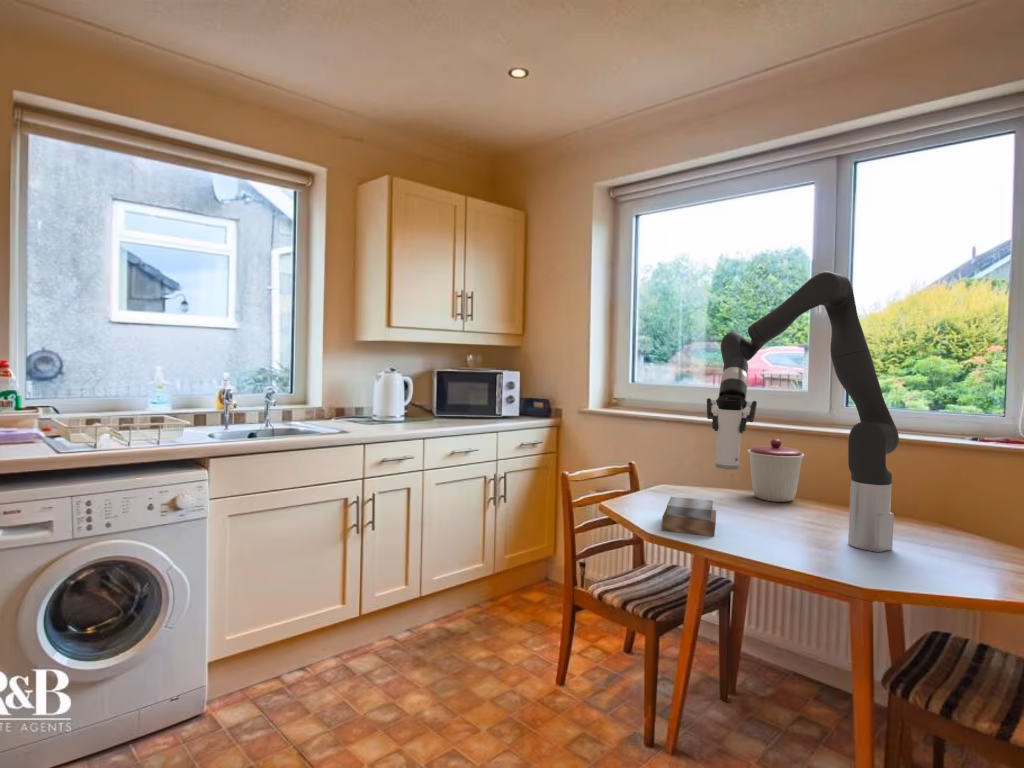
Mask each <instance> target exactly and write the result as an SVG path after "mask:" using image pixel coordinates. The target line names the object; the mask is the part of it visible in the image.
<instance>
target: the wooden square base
mask: <svg viewBox="0 0 1024 768" xmlns="http://www.w3.org/2000/svg"><path fill="white" fill-rule="evenodd" d="M713 505H714V500H712V499H711V500H710V499H702V498H690V497H689V498H688V497H680V496H670V498H669V500H668V502H667V504H666V508H665V510H664V512H663V514H662V521H661V523H662V524H661V527H662V528H661V531H662V532H663V531H664V532H670V533H678V534H690V535H698V536H707V537H715V534H716V533H715V532H716V524H717V509H714V508H713V507H714V506H713Z"/></svg>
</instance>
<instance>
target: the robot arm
mask: <svg viewBox="0 0 1024 768" xmlns="http://www.w3.org/2000/svg"><path fill="white" fill-rule="evenodd" d="M853 288H854V287H853V285H852V283H851V281H850V279H849V278H848V277H847V276H846V275H844V274H842V273H837V272H833V271H827V270H826V271H820V272H818V273H815V274H814V275H813V276H812V277H811V278H809V279H808V280H807V281H806V282H805V283H804V284H803V285H802V286H801V287H799V289H798V290H797V291H795V292H794V293H792V294H791V296H789V297H788V298H786V300H785V301H783V302H782V303H781V304H779V305H778V306H777V307H776V308H774V309H773V310H771V311H770V312H768V313H767V314H766V315H764V316H762V317H761V318H758V320H757V321H754V322H753V323H752V324H751V325H749V326H748V328H747V334H748V336H749V338H750V339H751V340H749V339H748V338H746V337H745V336H744V335H743V334H741V333H739V332H737V331H729V332H727V333H726V334H725V335H724V336H723V338H722V339H721V342H720V353H721V358H722V362H723V368H722V375H721V379H720V382H719V383H720V384H719V392H718V397H717V399H711V398H710V397H707V399H706V418H707V420H712V421H711V422H712V424H711V428H712V430H714V432H717V425H718V411H719V410H718V408H719V400H721V399H728V398H738V397H741V398H743V400H742V406H741V408H742V411H741V413H742V414H741V423H740V433H741V434H744V432H746V429H747V423H753V422H754V420H755V416H756V412H757V409H758V407H757V406H758V405H757V404H758V403H757V401H756V400H753V401H752V402H750V401H748V400H747V390H748V383H749V382H748V372H749V371H748V370H749V363H748V362H749V361H751V360H752V358H754V356H755V355H756V354H757V353H758V352H759V351H760V350H761V349H762V348H763V347H764V346H765V345H766V343H768V342H770V341H772V340H773V339H774V338H777V337H778V336H779V335H781V334H783V333H784V332H785V331H786V330H787V329H789V327H790V326H791V325H793V322H795V321H796V320H797V319H798V318H799V317H801V316H802V315H803V314H804V313H806V312H808V311H810V310H813V309H814V308H816V307H819V306H823V307H824V308H825V311H826V314H827V317H828V319H829V322H830V328H831V337H830V346H829V347H830V357H831V361H832V365H833V369H834V372H835V375H836V377H837V379H838V382H839V383H840V385H841V386H842V388H843V389H844V390H845V392H846V393H847V395H848V396H849V397H850V398H851V400H852V402H853V404H854V405H855V408H856V410H857V413H858V417H859V420H860V422H858V423H856V424H855V425H853V426H852V428H851V429H850V431H849V435H848V439H847V440H848V441H847V446H848V449H847V450H848V453H847V455H848V457H847V458H848V461H847V462H848V469H849V472H850V489H849V490H850V493H849V511H848V513H849V514H848V516H849V517H848V538H847V543H848V545H850V546H851V547H854V548H857V549H861V550H865V551H869V552H870V551H871V552H874V553H875V552H876V553H882V552H886V551H891V550H893V545H894V544H893V539H894V523H895V513H893V512H892V511H891V507H892V506H891V503H892V502H891V501H892V486H893V485H892V484H893V474H892V473H891V471H889V470H888V468H887V461H886V459H887V455H889V454H891V453H892V452H894V451H895V450H896V449H897V447H898V445H899V441H900V437H899V436H900V435H899V432H898V429H897V427H896V424H895V421H894V420H893V418H892V415H891V413H890V411H889V409H888V406H887V404H886V401H885V399H884V395H883V391H882V389H881V384H880V382H879V378H878V375H877V372H876V371H877V370H876V369H875V364H874V361H873V357H872V354H871V352H870V349H869V345H868V343H867V340H866V337H865V336H866V335H865V332H864V331H863V328H862V325H861V322H860V319H859V315H858V312H857V306H856V299H855V294H854V289H853ZM715 405H716V406H717V409H716V411H714V412H712V411H713V410H712V409H713V408H714V407H715ZM746 408H748V410H749V413H748V414H746V413H745V409H746Z"/></svg>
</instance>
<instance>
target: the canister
mask: <svg viewBox="0 0 1024 768" xmlns="http://www.w3.org/2000/svg"><path fill="white" fill-rule="evenodd" d="M769 444H770V445H756V446H752V447H751V448H750V449H747V453H749V461H750V462H749V463H750V474H751V475H750V476H751V485H752V492H753V494H754V496H755V497H756V498H758V499H760V500H763V501H768V502H775V503H787V502H791V501H793V500H794V498H795V497H796V495H797V489H798V486H799V485H798V484H799V480H800V479H799V478H800V473H801V467H802V460H803V458H804V457H805V454H804V453H803V452H801V451H800V450H798V449H797V448H792V447H788V446H782V441H781V440H780V439H778V438H773V439H771V440H770V443H769Z"/></svg>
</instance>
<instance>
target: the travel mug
mask: <svg viewBox="0 0 1024 768" xmlns="http://www.w3.org/2000/svg"><path fill="white" fill-rule="evenodd" d="M742 400H743V398H741V397H738V398H728V399H721V400H719V408H718V407H717V408H718V410H719V411H718V425H717V431H716V447H715V448H716V449H715V467H716V468H717V469H723V470H731V471H733V470H738V469H739V467H740V454H741V453H740V451H741V450H740V449H741V435H742V433H740V423H741V414H742V413H741V411H742V408H741V406H742Z"/></svg>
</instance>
